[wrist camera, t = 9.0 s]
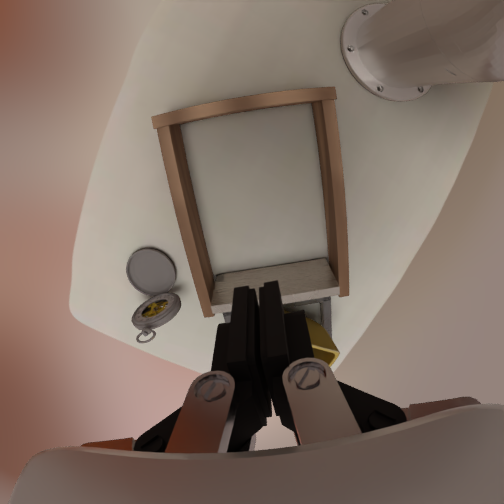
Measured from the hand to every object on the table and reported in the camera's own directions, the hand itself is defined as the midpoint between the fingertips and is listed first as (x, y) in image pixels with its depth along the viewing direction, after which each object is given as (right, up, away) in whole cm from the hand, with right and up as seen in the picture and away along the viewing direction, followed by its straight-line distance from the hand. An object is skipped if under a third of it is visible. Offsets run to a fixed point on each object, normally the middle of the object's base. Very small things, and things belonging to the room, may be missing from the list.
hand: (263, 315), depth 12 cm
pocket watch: (-13, -1, +28) cm, 31 cm away
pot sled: (+3, -6, +30) cm, 30 cm away
